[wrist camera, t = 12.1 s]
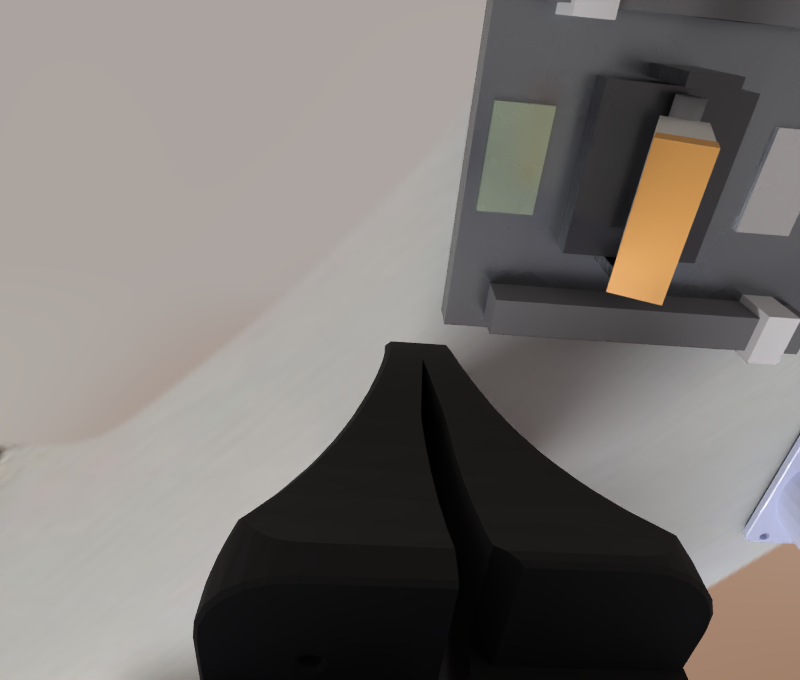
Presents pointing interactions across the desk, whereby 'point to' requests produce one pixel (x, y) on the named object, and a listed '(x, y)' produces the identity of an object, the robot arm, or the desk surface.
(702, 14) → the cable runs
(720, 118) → the breaker panel
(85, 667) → the desk surface
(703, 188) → the lever
